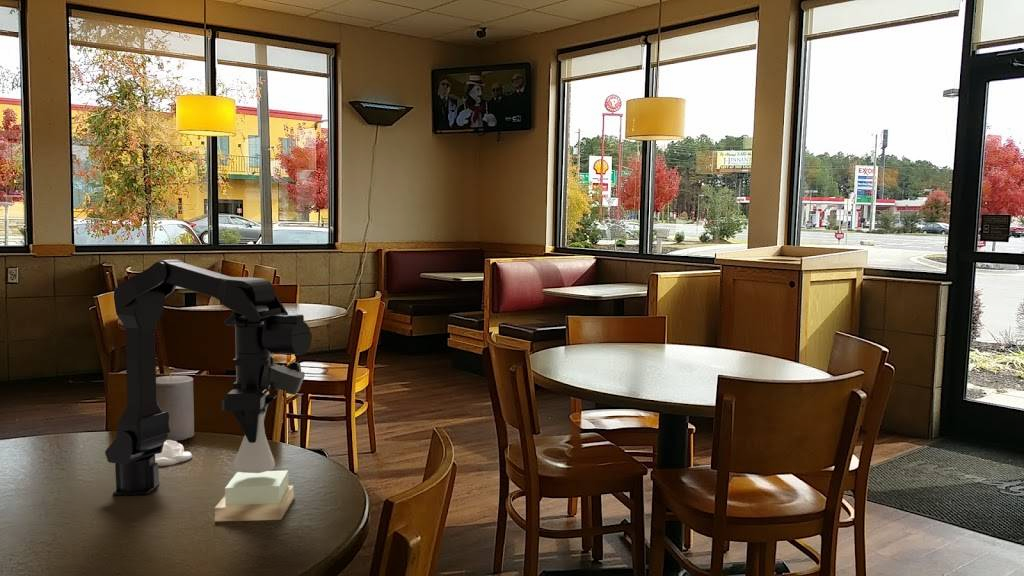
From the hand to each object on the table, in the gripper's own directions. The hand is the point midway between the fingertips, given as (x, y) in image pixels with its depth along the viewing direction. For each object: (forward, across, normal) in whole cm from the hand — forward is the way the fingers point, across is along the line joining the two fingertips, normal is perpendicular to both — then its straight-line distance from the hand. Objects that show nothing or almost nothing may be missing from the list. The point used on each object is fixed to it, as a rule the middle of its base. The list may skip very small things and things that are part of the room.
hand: (254, 439), depth 142 cm
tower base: (+13, 0, 0) cm, 13 cm away
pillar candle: (+13, +51, +31) cm, 61 cm away
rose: (+13, +32, +26) cm, 43 cm away
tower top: (+10, 0, 0) cm, 10 cm away
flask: (+5, 0, 0) cm, 5 cm away
